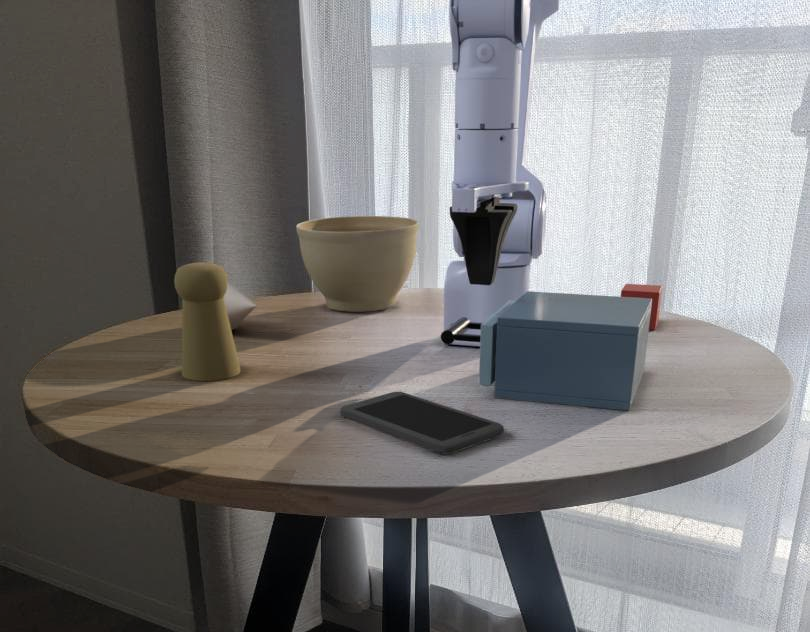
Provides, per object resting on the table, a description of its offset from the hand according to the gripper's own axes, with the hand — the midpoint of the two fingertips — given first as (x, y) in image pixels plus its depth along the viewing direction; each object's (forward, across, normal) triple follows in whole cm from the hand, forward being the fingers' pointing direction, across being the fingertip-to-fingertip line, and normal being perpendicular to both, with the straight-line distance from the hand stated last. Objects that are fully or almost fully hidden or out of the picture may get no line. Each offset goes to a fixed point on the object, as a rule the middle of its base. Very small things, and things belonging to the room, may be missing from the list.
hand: (481, 283), depth 84 cm
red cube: (+9, +28, -13) cm, 32 cm away
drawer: (+8, 0, -5) cm, 10 cm away
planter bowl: (+10, +28, +24) cm, 38 cm away
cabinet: (+9, 0, -10) cm, 13 cm away
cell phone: (+9, -16, +1) cm, 19 cm away
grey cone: (+10, +9, +34) cm, 36 cm away
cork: (+10, -7, +27) cm, 29 cm away
